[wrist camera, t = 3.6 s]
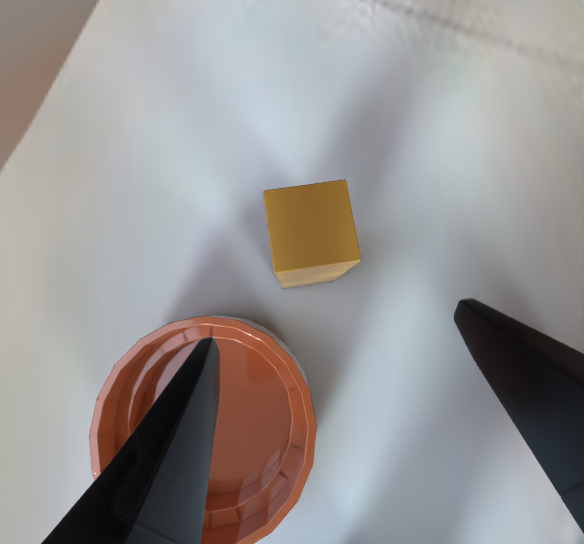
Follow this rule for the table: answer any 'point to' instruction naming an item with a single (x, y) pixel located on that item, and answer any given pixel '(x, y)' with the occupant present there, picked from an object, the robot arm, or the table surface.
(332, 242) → the ochre block
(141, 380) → the bowl
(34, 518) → the table surface
